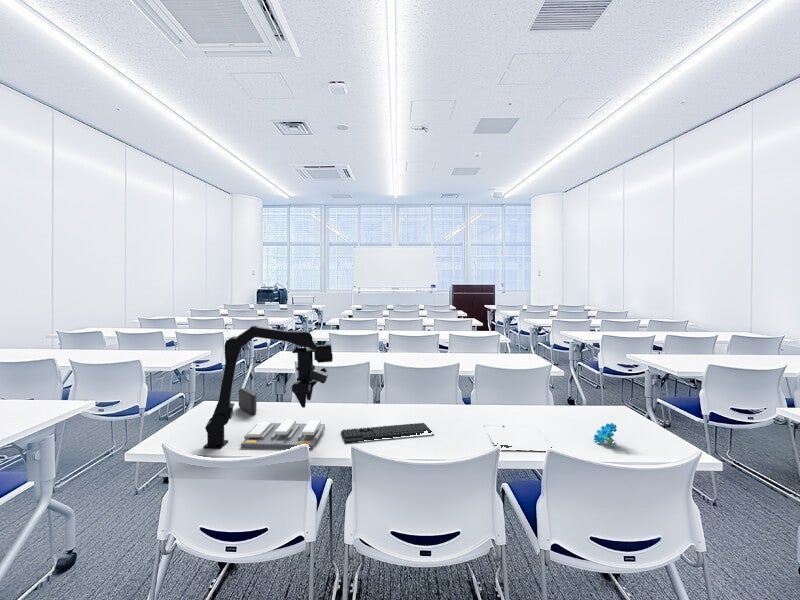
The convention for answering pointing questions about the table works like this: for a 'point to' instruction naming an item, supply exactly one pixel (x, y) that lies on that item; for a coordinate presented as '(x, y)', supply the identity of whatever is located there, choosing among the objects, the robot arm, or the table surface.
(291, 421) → the key middle
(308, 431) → the key
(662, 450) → the table surface
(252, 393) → the leaning round-cornered charcoal block
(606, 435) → the blue flower
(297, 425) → the switch panel
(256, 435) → the key
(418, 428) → the keyboard
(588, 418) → the table surface
